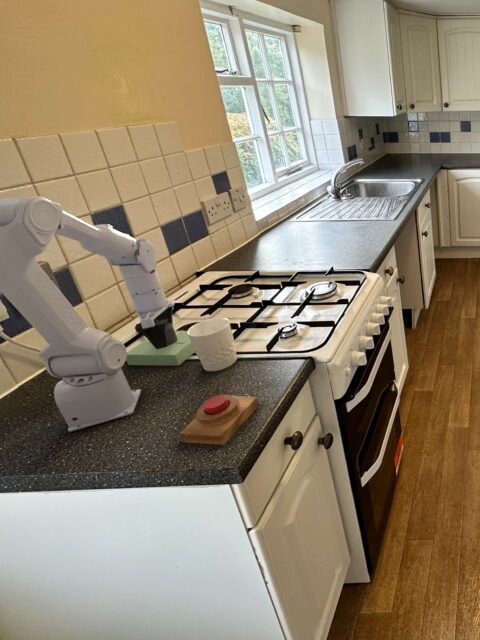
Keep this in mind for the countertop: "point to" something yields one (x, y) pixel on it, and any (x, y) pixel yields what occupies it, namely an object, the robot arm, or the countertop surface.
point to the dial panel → (162, 352)
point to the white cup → (213, 343)
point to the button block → (219, 422)
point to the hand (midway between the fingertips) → (165, 339)
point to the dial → (170, 334)
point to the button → (216, 404)
